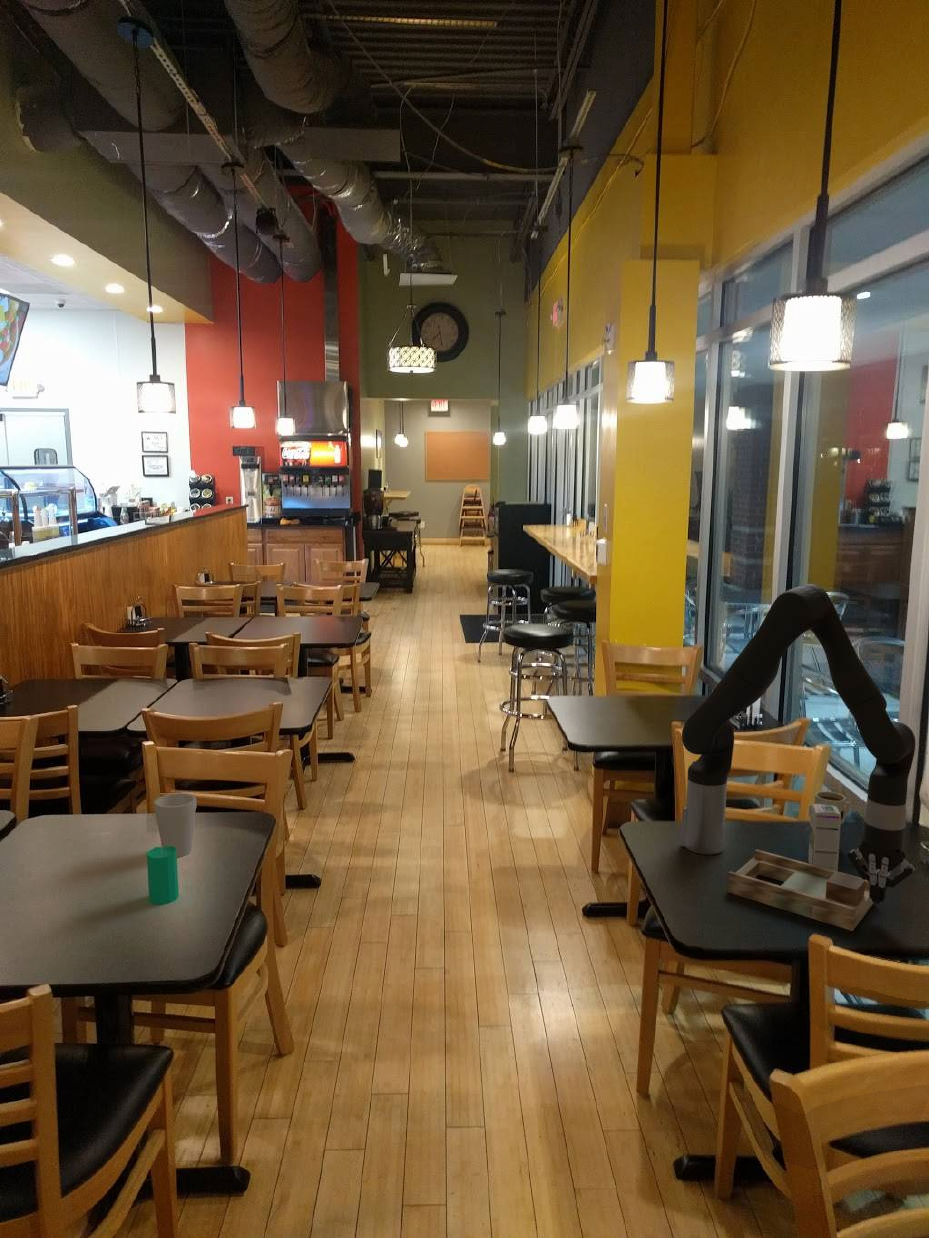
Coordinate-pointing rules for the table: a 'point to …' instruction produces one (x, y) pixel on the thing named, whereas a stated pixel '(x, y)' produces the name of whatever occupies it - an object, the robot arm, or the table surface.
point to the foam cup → (176, 821)
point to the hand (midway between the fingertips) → (877, 901)
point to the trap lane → (796, 889)
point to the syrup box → (824, 836)
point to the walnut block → (845, 888)
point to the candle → (162, 875)
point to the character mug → (832, 802)
